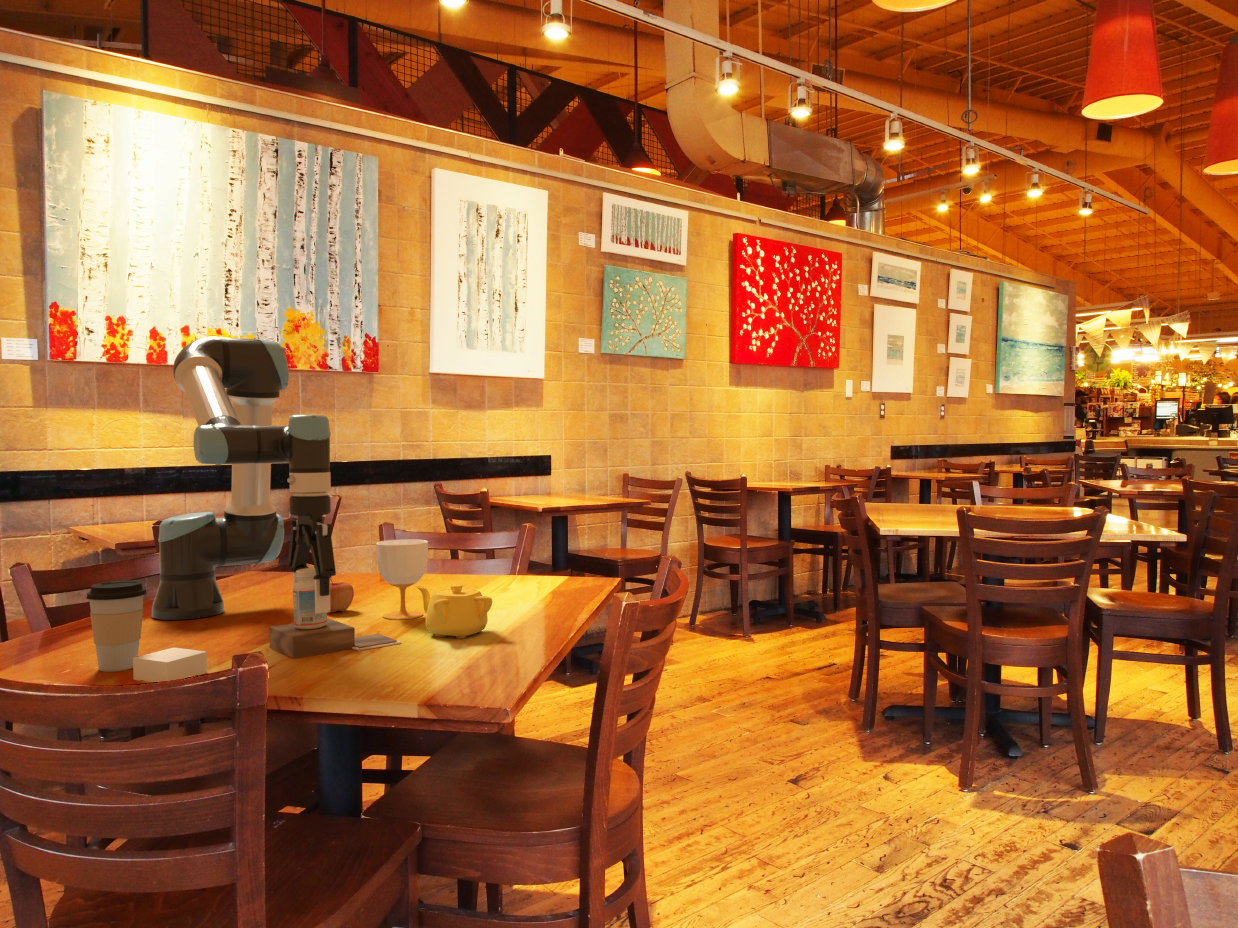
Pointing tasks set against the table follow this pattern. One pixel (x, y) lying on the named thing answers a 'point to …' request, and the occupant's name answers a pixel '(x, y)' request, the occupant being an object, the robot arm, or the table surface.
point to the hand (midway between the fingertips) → (311, 608)
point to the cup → (402, 568)
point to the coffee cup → (116, 622)
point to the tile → (373, 642)
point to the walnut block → (311, 639)
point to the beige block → (169, 665)
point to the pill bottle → (306, 601)
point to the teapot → (455, 611)
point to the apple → (340, 596)
